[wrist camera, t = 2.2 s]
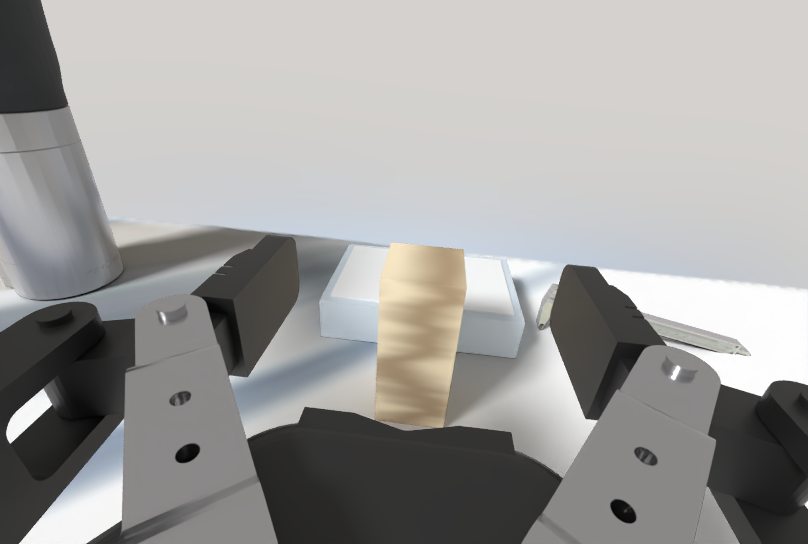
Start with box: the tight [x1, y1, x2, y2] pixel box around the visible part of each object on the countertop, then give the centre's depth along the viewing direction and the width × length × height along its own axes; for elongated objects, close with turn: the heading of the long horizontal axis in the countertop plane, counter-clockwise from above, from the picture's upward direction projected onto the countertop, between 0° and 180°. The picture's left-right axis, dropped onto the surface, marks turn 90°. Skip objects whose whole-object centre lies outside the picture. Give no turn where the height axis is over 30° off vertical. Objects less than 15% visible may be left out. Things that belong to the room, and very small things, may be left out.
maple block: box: [375, 243, 467, 428], centre depth 27 cm, size 5×5×12 cm
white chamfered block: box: [319, 244, 525, 358], centre depth 39 cm, size 18×12×4 cm, turn 84°
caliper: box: [536, 284, 751, 356], centre depth 37 cm, size 20×1×6 cm, turn 83°
